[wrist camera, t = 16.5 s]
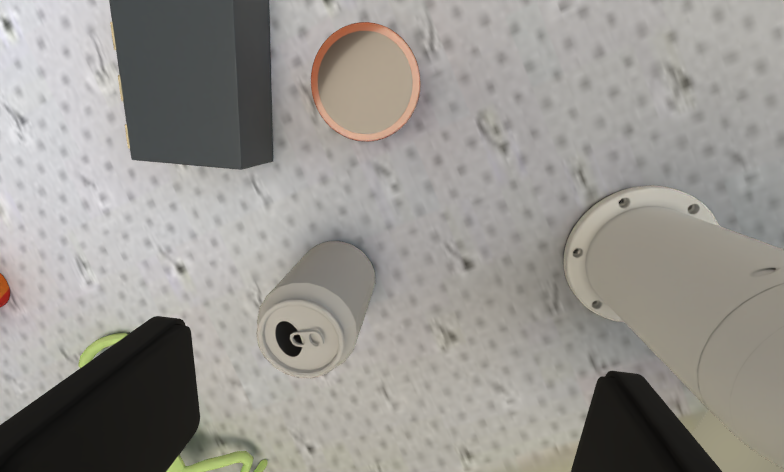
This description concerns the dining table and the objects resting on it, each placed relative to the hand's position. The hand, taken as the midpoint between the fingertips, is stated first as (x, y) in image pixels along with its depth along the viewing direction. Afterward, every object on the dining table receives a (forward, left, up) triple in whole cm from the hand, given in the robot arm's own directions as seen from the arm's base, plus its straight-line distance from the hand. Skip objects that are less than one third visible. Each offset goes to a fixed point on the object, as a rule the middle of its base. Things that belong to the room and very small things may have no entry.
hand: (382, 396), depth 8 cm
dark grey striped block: (+18, -8, -26) cm, 33 cm away
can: (+7, +9, -26) cm, 29 cm away
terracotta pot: (+4, -8, -26) cm, 28 cm away
